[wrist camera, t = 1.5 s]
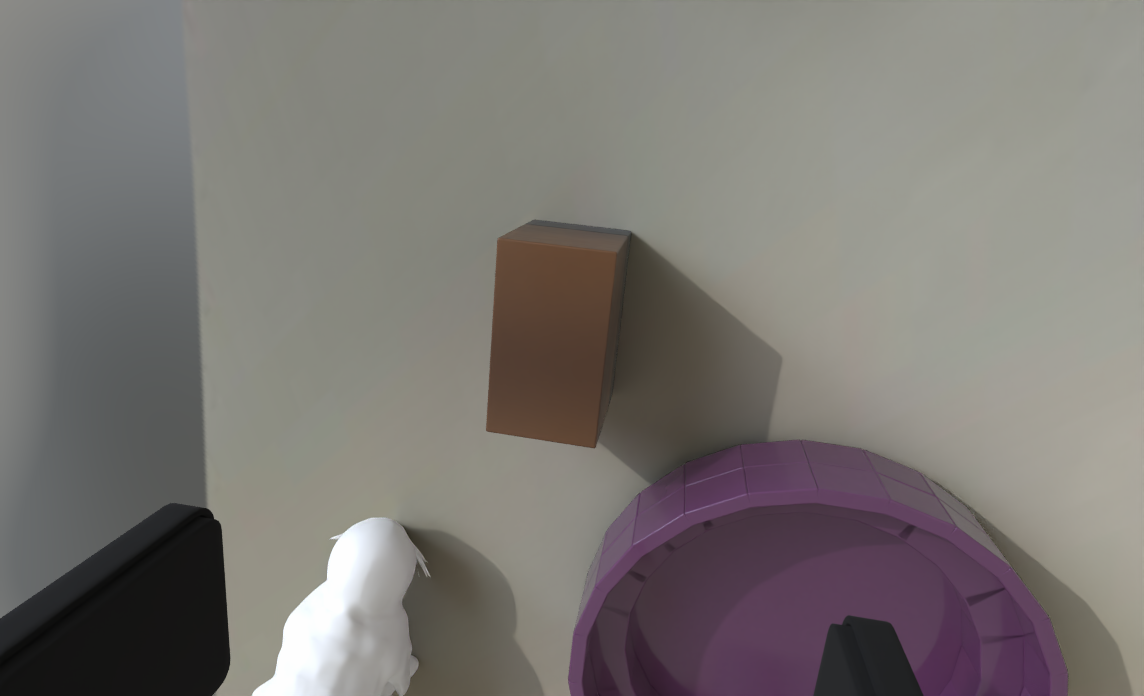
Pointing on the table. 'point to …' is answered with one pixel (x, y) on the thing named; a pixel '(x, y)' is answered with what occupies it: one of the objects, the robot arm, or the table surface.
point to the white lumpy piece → (353, 620)
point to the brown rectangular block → (556, 330)
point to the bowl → (802, 582)
